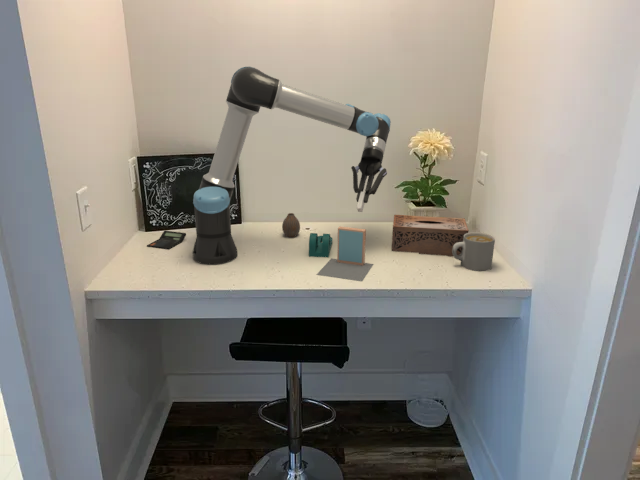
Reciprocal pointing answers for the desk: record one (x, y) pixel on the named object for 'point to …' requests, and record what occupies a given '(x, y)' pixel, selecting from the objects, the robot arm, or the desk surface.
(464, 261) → the coffee mug
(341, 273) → the mat
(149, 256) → the desk surface
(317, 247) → the bracket
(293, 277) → the desk surface
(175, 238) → the calculator
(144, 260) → the desk surface
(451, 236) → the tissue box cover
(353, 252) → the tile
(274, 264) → the desk surface
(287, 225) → the vase
